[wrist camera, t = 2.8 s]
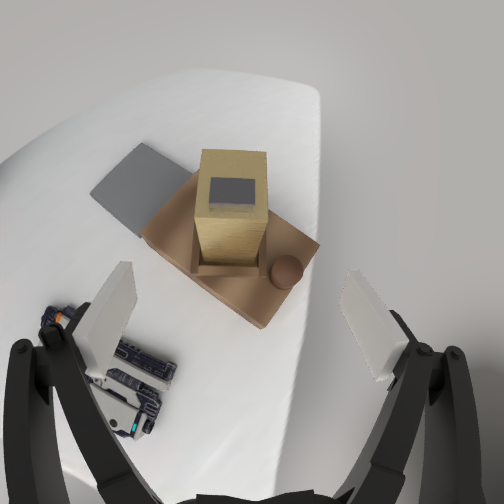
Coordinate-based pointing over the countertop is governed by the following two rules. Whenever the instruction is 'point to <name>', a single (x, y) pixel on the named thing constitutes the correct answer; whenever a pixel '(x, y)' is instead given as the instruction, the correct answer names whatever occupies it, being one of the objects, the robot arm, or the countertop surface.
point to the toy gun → (124, 384)
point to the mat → (140, 187)
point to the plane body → (232, 276)
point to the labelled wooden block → (231, 205)
